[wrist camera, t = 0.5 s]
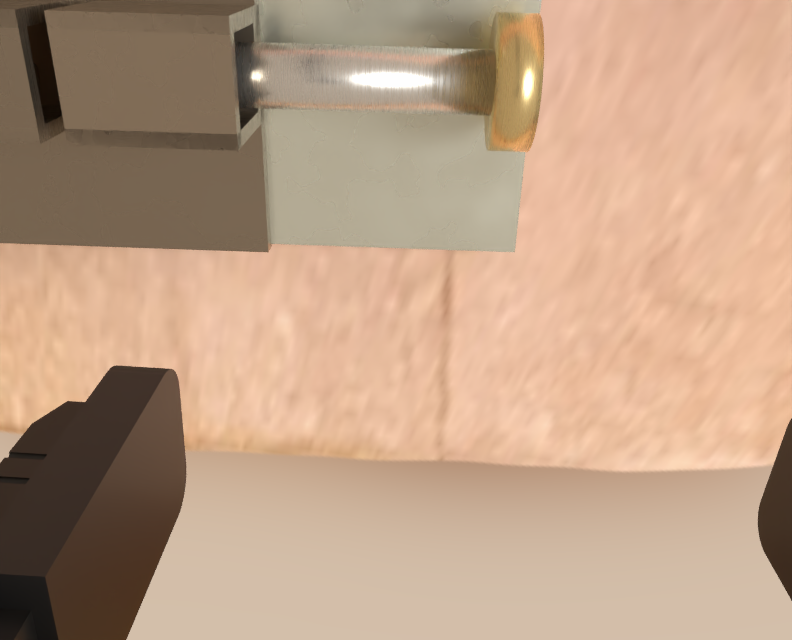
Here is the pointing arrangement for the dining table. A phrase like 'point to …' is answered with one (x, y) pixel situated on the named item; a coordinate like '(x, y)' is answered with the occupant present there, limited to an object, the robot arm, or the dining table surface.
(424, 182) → the hinge
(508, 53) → the hinge pin
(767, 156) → the dining table surface
